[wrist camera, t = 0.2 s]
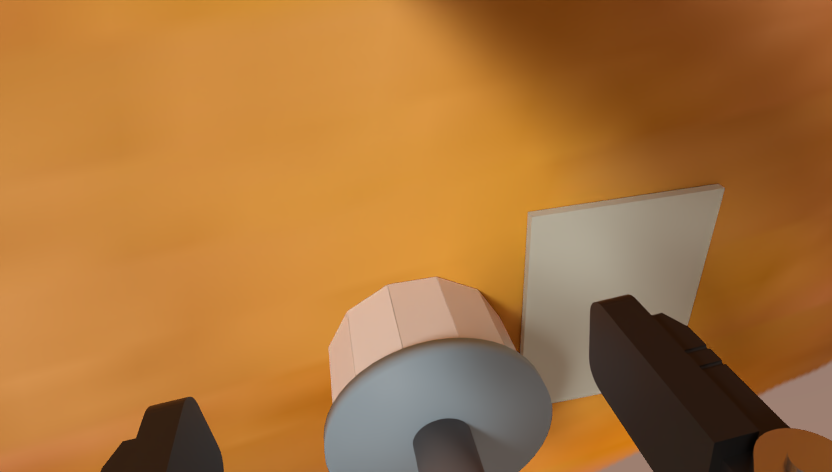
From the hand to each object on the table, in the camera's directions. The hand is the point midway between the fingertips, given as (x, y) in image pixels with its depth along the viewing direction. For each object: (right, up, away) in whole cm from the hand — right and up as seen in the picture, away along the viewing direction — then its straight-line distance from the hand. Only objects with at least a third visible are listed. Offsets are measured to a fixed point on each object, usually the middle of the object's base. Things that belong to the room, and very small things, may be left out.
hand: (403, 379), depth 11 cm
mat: (+13, -2, +25) cm, 28 cm away
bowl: (0, -4, +24) cm, 24 cm away
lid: (+1, -7, +19) cm, 20 cm away
